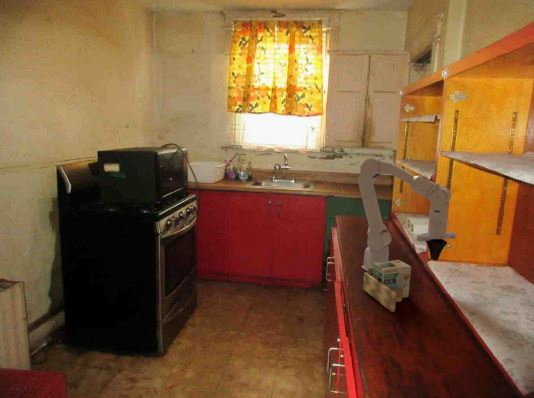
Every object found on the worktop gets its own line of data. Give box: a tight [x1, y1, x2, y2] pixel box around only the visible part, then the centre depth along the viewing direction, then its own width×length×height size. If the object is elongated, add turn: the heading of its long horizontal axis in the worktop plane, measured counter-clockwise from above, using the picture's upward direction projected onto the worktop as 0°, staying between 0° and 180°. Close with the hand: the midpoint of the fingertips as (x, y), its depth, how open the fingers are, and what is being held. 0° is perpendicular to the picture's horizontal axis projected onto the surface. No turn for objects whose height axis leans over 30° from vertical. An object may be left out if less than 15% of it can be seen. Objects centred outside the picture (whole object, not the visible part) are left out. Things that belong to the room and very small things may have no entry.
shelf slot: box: [362, 267, 403, 313], centre depth 122 cm, size 17×7×8 cm, turn 16°
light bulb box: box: [372, 259, 412, 299], centre depth 125 cm, size 11×7×11 cm, turn 108°
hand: (434, 259), depth 133 cm, fingers closed
